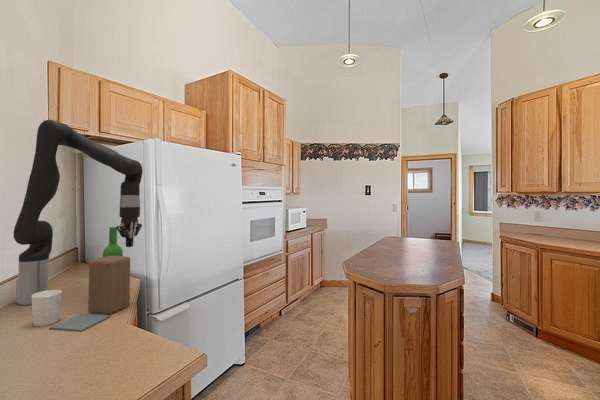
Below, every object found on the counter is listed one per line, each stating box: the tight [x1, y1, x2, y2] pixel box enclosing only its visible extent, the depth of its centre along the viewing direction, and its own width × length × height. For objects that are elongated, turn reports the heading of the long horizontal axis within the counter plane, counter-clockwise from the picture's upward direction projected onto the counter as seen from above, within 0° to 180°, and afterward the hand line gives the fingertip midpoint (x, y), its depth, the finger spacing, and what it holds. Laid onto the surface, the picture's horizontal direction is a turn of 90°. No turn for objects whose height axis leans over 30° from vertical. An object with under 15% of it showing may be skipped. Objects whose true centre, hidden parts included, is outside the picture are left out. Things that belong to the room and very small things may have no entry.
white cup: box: [31, 289, 63, 327], centre depth 100 cm, size 8×8×10 cm
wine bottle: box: [102, 226, 124, 257], centre depth 131 cm, size 8×8×30 cm
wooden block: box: [87, 256, 131, 315], centre depth 112 cm, size 10×10×20 cm
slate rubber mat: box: [48, 313, 112, 333], centre depth 99 cm, size 12×12×1 cm
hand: (129, 246), depth 122 cm, fingers closed
